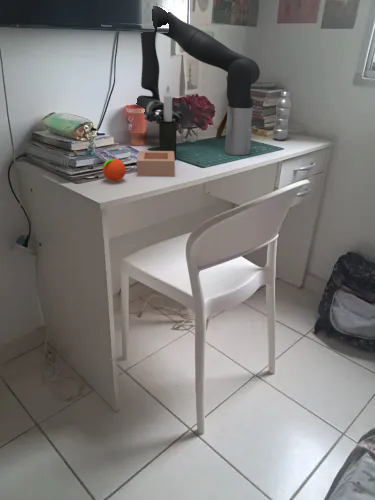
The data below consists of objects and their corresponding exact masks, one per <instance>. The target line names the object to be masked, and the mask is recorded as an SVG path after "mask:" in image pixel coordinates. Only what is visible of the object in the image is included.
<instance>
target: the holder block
mask: <svg viewBox="0 0 375 500" xmlns="http://www.w3.org/2000/svg"><path fill="white" fill-rule="evenodd" d="M175 164H176V160H175V158H174V151H159V150H138V154H137V158H136V176H137V177H175V175H176V171H175V170H176V169H175V168H176V167H175V166H176V165H175Z"/></svg>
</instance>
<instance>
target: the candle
mask: <svg viewBox="0 0 375 500" xmlns="http://www.w3.org/2000/svg"><path fill="white" fill-rule="evenodd" d="M163 103H164V120H162V123H161V124H158V125H159V126H158V131H159V133H158V134H159V136H158V137H159V138H158V140H159V143H158V144H159V147H158V148H159V150H158V151H174V158H175V159H177V133H178V132H177V131H178V130H177V128H178V127H177V125H178V123H177V122H175V121H174V120H172V111H173V95H172V94H171V90H170V85H166V90H165V92H164V95H163Z"/></svg>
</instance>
